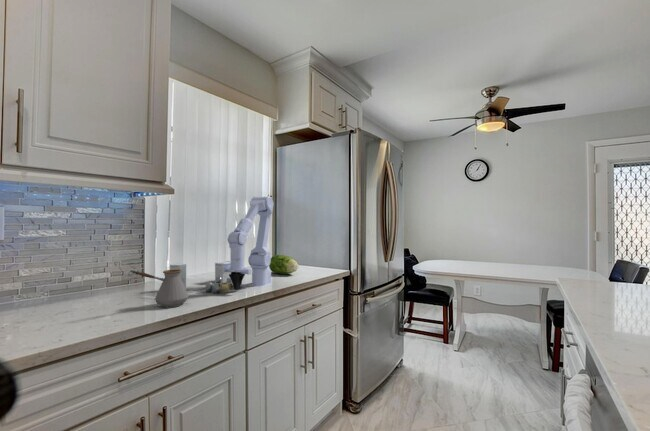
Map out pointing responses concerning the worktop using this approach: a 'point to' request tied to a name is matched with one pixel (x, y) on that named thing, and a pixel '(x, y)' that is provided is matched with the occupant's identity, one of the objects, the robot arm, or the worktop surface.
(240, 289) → the mat
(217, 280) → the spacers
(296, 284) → the worktop surface
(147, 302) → the worktop surface
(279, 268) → the lettuce
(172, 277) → the coffee pot
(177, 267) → the skincare box
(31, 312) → the worktop surface
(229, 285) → the nut
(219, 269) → the light bulb box
